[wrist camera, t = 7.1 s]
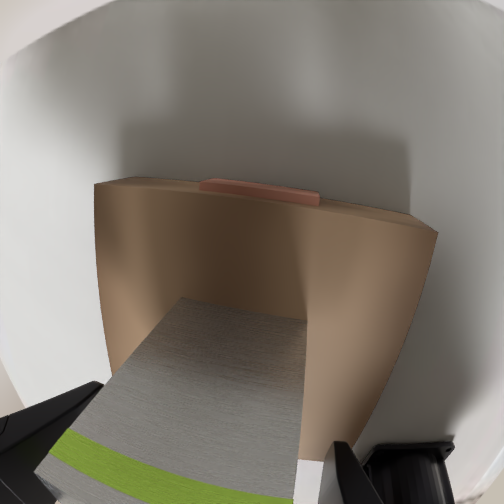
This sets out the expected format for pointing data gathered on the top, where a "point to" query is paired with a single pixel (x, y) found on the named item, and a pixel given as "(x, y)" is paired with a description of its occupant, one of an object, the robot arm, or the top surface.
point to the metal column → (191, 416)
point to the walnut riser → (268, 279)
